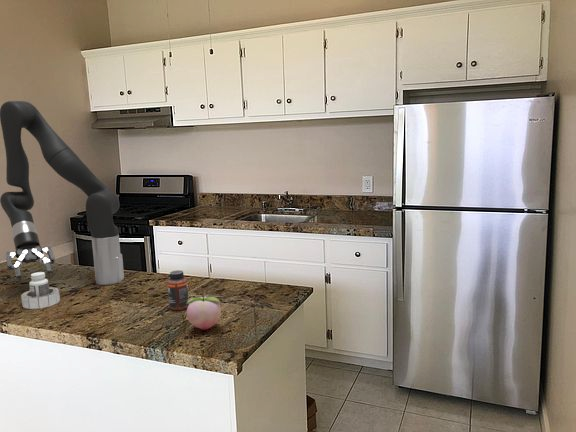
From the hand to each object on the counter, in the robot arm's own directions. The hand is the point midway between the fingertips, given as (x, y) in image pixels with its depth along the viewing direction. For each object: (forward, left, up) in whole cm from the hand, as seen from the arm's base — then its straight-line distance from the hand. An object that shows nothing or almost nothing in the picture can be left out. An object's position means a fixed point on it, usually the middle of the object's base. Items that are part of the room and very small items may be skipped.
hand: (34, 275), depth 155 cm
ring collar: (-5, +8, -7) cm, 11 cm away
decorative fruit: (-59, +38, -7) cm, 70 cm away
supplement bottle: (-50, +20, -7) cm, 54 cm away
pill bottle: (-4, +8, -7) cm, 11 cm away
